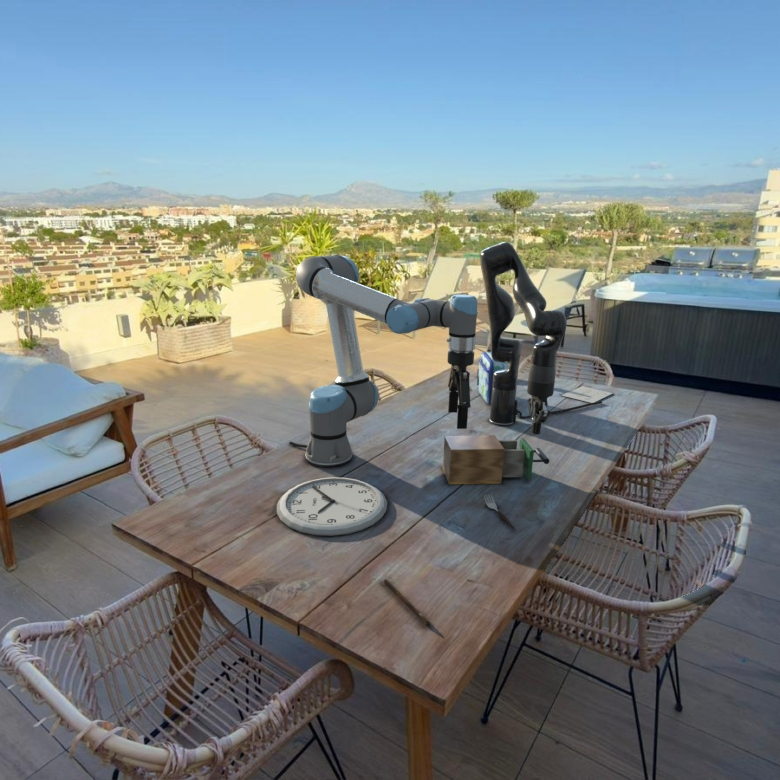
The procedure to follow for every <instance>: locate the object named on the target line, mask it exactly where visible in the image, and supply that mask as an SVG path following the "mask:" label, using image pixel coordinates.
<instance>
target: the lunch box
mask: <svg viewBox="0 0 780 780" xmlns="http://www.w3.org/2000/svg"><path fill="white" fill-rule="evenodd" d="M509 366H510V365H509V363H501V362H496V361H494V360H493V359H492V356H491V352H487V351H482V352H481V354H480V358H479V360H478V369H479V377H478V378H477V381H476V384H477V385H476V386H478V393H479V395H480V396H481V397H482V399H483V400H484V402H485V404H487V405H488V406H489V405H490V406H491V398H492V385H493V374H494V372H495V371H497V370H501V369H505V368H508V367H509Z"/></svg>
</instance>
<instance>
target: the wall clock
mask: <svg viewBox="0 0 780 780" xmlns="http://www.w3.org/2000/svg"><path fill="white" fill-rule="evenodd" d="M387 509H388V500H387V498H386V496H385V494H384V493H383V492H382V491H381V490H380V489H379V488H377V487H376V486H374V485H372V484H371V483H369V482H365V481H362V480H359V479H355V478H349V477H338V476H337V477H335V476H333V477H332V476H331V477H322V478H317V479H312V480H307V481H305V482H302V483H299V484H297V485H295V486H293V487H292V488H290V489H288V490H287V491H286V492H285V493H284V494H283V495H281V496H280V498H279V499H278V502H277V503H276V515H277V517H278V518H279V520H280V521H281V522H282V523H283V524H285V525H286V526H287V527H288V528H290V529H293V530H295V531H297V532H299V533H303V534H308V535H312V536H327V537H328V536H329V537H331V536H332V537H333V536H342V535H350V534H352V533H356V532H361V531H363V530H366V529H368V528H369V527H372V526H373V525H375V524H376V523H378V522H379V521H380V520H381V519H382V518H383V517H384V516H385V514H386V512H387Z"/></svg>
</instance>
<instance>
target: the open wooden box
mask: <svg viewBox="0 0 780 780" xmlns="http://www.w3.org/2000/svg"><path fill="white" fill-rule="evenodd" d="M443 439H444V440H443V442H444V443H443V456H442V457H443V458H442V459H443V460H442V471H443V473H444V476H445V479H446V481H447V483H448V485H491V484H493V485H494V484H496V485H497V484H502V483H503V482H502V480H503V477H502V471H503V460H504V448H503V446H502V445H501V443H500V442H499V440H500V439H498V438H497V436H496V435H494V434H491V435H490V434H489V435H488V434H485V435H483V434H482V435H481V434H479V435H444V438H443Z"/></svg>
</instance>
